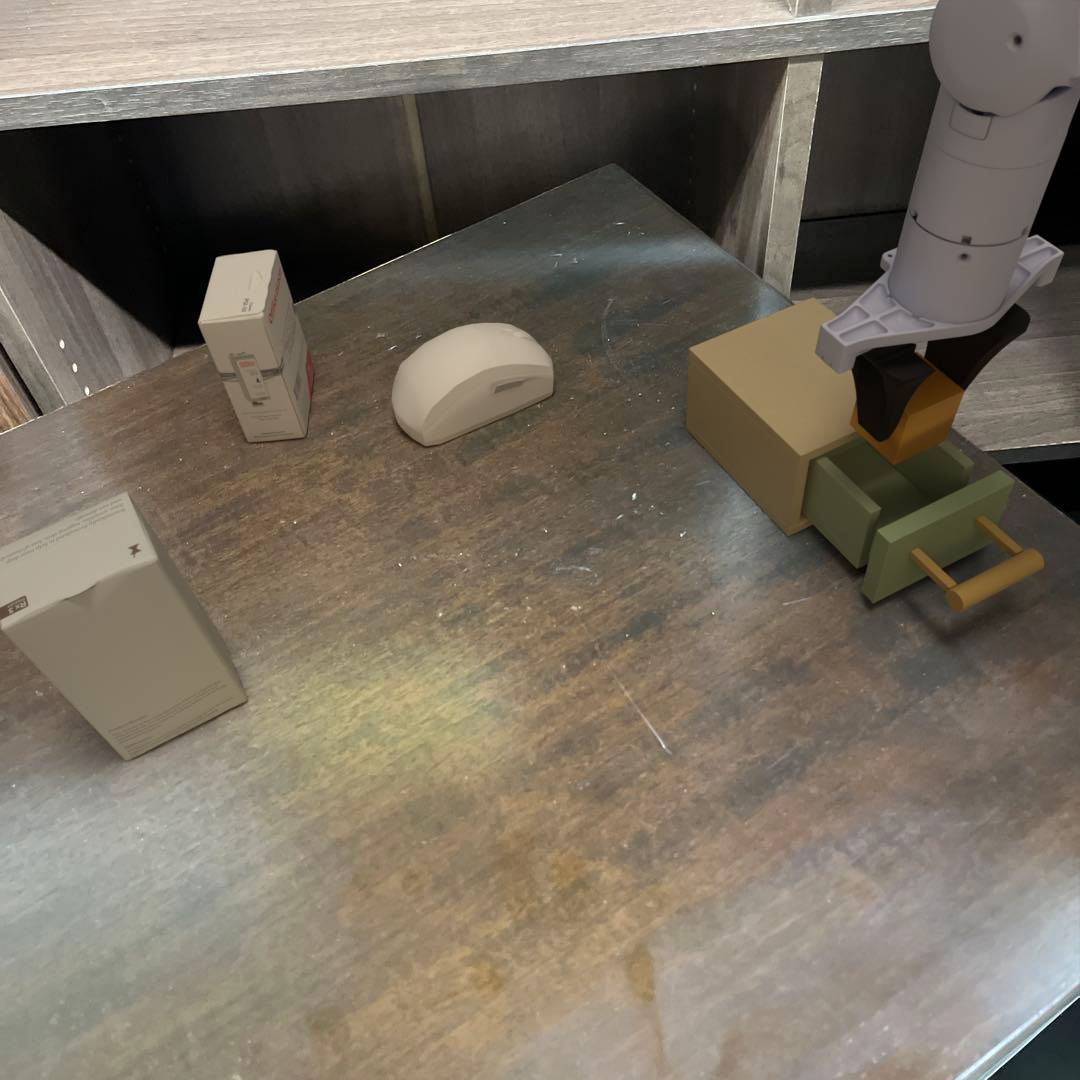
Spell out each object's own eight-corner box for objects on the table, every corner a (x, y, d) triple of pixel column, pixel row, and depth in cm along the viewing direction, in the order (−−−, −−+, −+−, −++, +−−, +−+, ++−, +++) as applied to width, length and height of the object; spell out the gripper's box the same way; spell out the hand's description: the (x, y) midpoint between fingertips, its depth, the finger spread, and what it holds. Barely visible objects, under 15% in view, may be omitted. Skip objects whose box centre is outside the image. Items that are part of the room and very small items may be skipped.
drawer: (1047, 593, 61) (1077, 531, 56) (925, 658, 58) (948, 598, 54) (872, 439, 71) (887, 376, 66) (762, 489, 68) (770, 427, 64)
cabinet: (912, 477, 69) (936, 394, 63) (787, 537, 66) (800, 456, 61) (801, 378, 77) (813, 296, 71) (685, 428, 74) (688, 347, 68)
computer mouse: (565, 393, 78) (560, 328, 73) (416, 456, 75) (400, 393, 70) (527, 350, 82) (520, 286, 77) (383, 409, 79) (366, 345, 74)
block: (946, 440, 59) (965, 390, 56) (893, 465, 58) (909, 416, 55) (900, 400, 61) (916, 350, 58) (849, 424, 60) (862, 374, 57)
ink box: (260, 374, 83) (213, 251, 74) (318, 368, 83) (278, 244, 74) (245, 445, 77) (193, 321, 68) (308, 439, 77) (263, 314, 68)
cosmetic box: (223, 639, 65) (134, 481, 54) (252, 706, 61) (163, 552, 50) (97, 698, 63) (-23, 546, 51) (119, 772, 59) (-5, 625, 48)
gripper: (1022, 132, 52) (951, 336, 62) (796, 218, 48) (762, 419, 59) (1131, 196, 48) (1036, 402, 58) (893, 295, 44) (838, 496, 55)
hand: (904, 416), depth 58 cm, fingers closed on block, 4 cm apart
